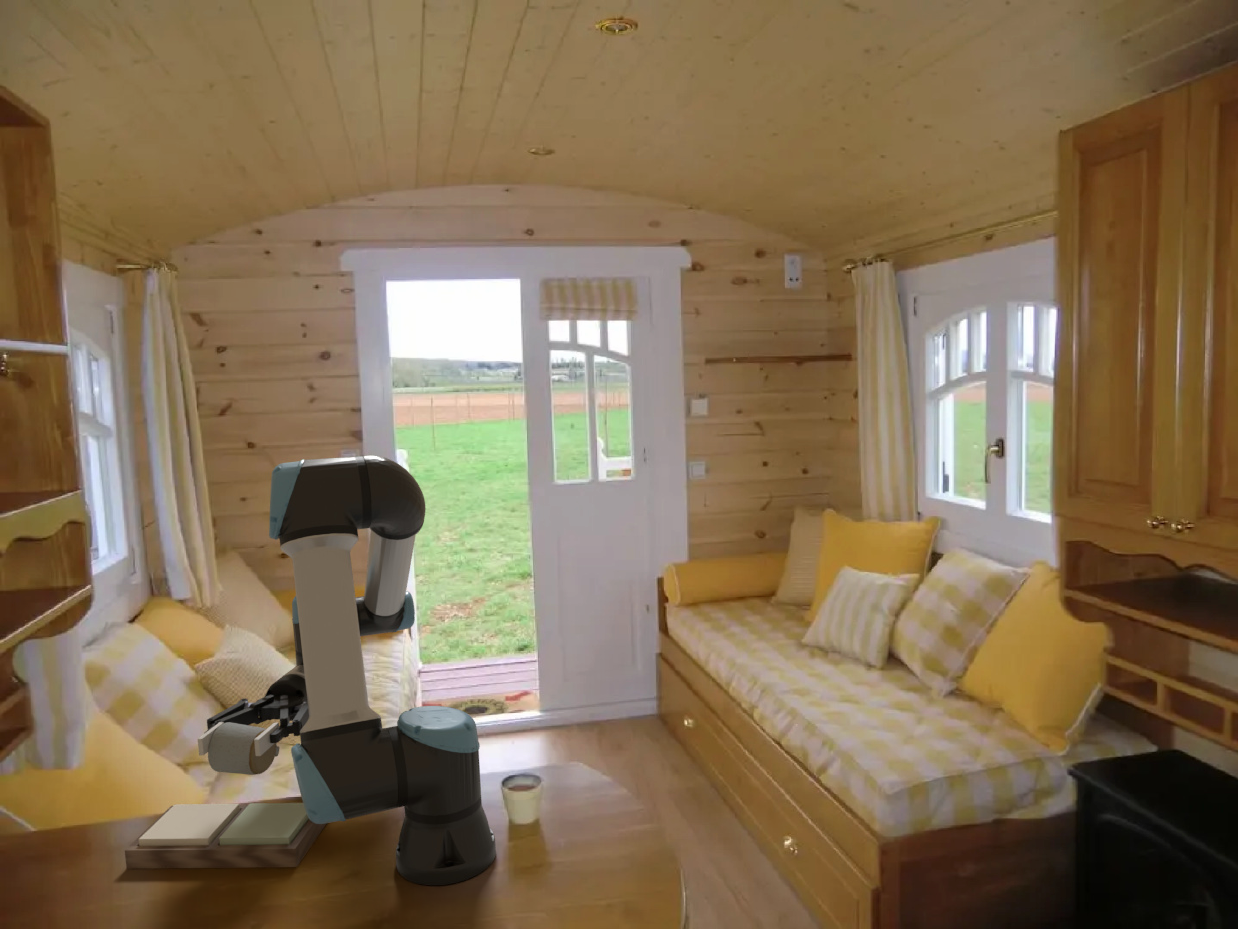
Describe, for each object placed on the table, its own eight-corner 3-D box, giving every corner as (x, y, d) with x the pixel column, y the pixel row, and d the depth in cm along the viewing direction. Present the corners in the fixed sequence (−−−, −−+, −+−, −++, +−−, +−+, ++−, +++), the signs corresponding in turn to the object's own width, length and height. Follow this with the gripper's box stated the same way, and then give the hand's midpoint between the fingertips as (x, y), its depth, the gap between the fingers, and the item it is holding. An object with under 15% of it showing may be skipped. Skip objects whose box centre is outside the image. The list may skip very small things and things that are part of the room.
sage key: (316, 818, 156) (314, 802, 156) (290, 854, 145) (288, 837, 145) (251, 819, 157) (249, 803, 156) (220, 855, 146) (219, 838, 145)
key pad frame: (328, 820, 158) (327, 803, 157) (296, 867, 144) (295, 848, 143) (173, 822, 159) (171, 805, 159) (126, 868, 145) (124, 850, 145)
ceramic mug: (254, 783, 146) (250, 736, 145) (208, 780, 148) (204, 733, 147) (292, 755, 156) (289, 711, 155) (249, 752, 158) (246, 708, 157)
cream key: (240, 819, 157) (239, 803, 156) (209, 855, 146) (207, 838, 146) (176, 820, 157) (174, 804, 157) (140, 856, 146) (138, 839, 146)
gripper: (353, 714, 167) (296, 771, 145) (240, 713, 169) (166, 769, 147) (350, 673, 166) (292, 725, 144) (236, 673, 168) (161, 723, 146)
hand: (228, 747), depth 145 cm, fingers closed on ceramic mug, 9 cm apart
